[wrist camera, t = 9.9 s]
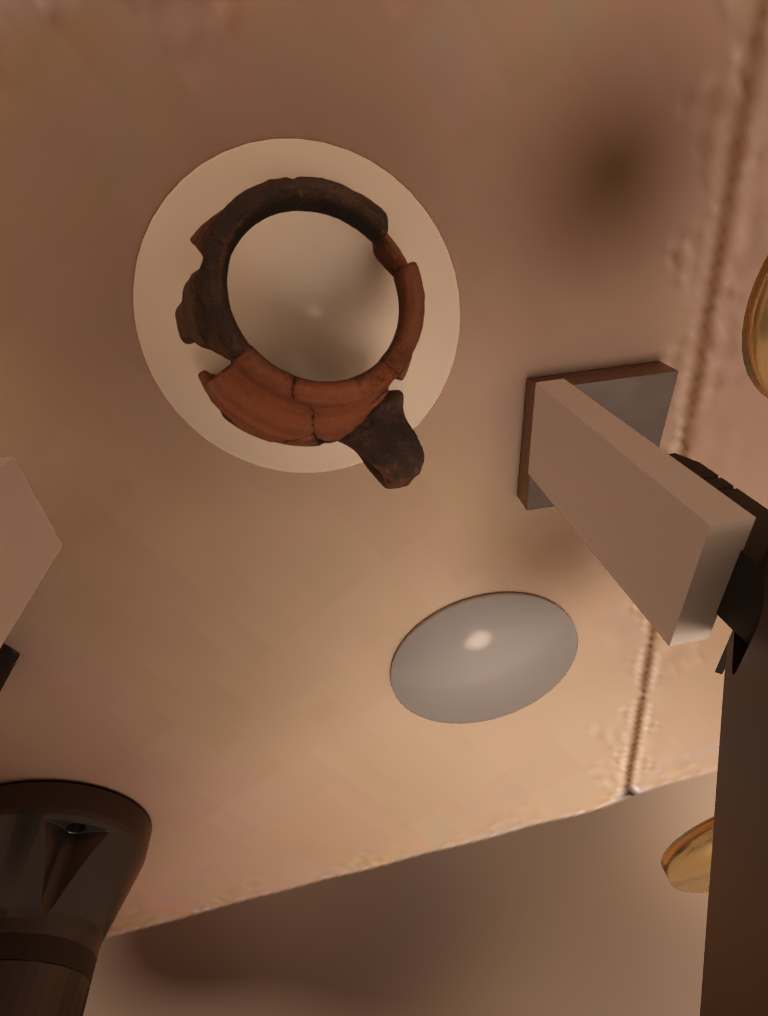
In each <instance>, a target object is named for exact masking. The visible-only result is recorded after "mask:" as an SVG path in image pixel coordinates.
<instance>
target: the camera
mask: <svg viewBox="0 0 768 1016" xmlns="http://www.w3.org/2000/svg"><path fill="white" fill-rule="evenodd" d="M19 655H20V654H19V653H18V652H17V651H16V650H14V649H12V648H10V647H8V646H7V645H5V644H3V645H2V646H1V648H0V691H1V689H2V687H3V686H4V684H5V682H6V680H7V678H8V676H9V674H10V672H11V670H12V668H13V667H14V665H15V663H16V661H17V659H18V657H19Z"/></svg>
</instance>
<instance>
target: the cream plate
mask: <svg viewBox="0 0 768 1016" xmlns="http://www.w3.org/2000/svg"><path fill="white" fill-rule="evenodd" d="M300 176H303V177H318V178H324V179H327V180H332V181H334V182H337V183H341V184H343V185H345V186H347V187H348V188H350V189H352V190H353V191H356V192H358V193H361V194H362V195H364V196H366V197H367V198H369V199H370V200H372V201H373V202H374V203H375V204H377V205H378V206H379V207H381V208H382V209H383V210H384V211H385V212H386V214H387V218H388V232H387V233H388V234H389V236H390V237H391V238H392V239H393V241H394V242H395V243H396V245H397V246H398V247H399V249H400V250H401V252H402V254H403V256H404V257H405V259H406V261H407V263H410V262H416V263H417V265H418V267H419V271H420V274H421V278H422V283H423V288H424V292H425V313H424V322H423V328H422V331H421V335H420V338H419V341H418V343H417V345H416V348H415V350H414V352H413V354H412V359H411V362H410V365H409V368H408V371H407V374H406V376H405V377H404V379H403V380H402V381H401V380H397V379H395V380H393V381H392V382H391V384H390V386H389V388H388V389H389V391H390V390H400V391H402V393H403V395H404V402H403V409H404V414H405V417H406V419H407V421H408V423H409V424H410V426H411V427H412V429H414V428H415V427H416V426H417V425H418V424H419V423H420V422H421V421H422V420H423V418H424V417H425V416H426V415H427V413H428V412H429V411H430V409H431V408H432V407H433V405H434V403H435V402H436V400H437V398H438V397H439V395H440V394H441V392H442V390H443V387H444V385H445V383H446V381H447V379H448V377H449V374H450V371H451V368H452V365H453V362H454V358H455V355H456V349H457V344H458V339H459V328H460V303H459V292H458V286H457V281H456V275H455V271H454V268H453V265H452V262H451V259H450V256H449V252H448V250H447V248H446V246H445V244H444V241H443V239H442V237H441V235H440V233H439V231H438V229H437V227H436V226H435V224H434V223H433V221H432V220H431V218H430V216H429V215H428V213H427V212H426V210H425V209H424V208H423V207H422V205H421V204H420V203H419V202H418V201H417V199H416V198H415V197H414V196H413V195H412V194H411V192H410V191H409V190H408V189H407V188H405V187H404V186H403V185H402V184H401V183H400V182H399V181H398V180H397V179H395V178H394V177H393V176H392V175H391V174H389V173H388V172H386V171H385V170H383V169H382V168H380V167H379V166H378V165H376V164H375V163H373V162H372V161H370V160H368V159H366V158H364V157H362V156H360V155H358V154H355V153H353V152H351V151H349V150H347V149H344V148H340V147H337V146H334V145H331V144H327V143H324V142H318V141H312V140H305V139H269V140H263V141H257V142H252V143H247V144H244V145H241V146H238V147H235V148H233V149H230V150H227V151H224V152H222V153H220V154H219V155H217V156H215V157H213V158H211V159H210V160H208V161H206V162H204V163H202V164H201V165H200V166H198V167H197V168H196V169H195V170H193V171H192V172H191V173H190V174H188V175H187V176H186V177H185V178H183V179H182V180H181V181H180V182H179V183H178V185H177V186H176V187H175V188H174V189H173V190H172V191H171V192H170V193H169V195H168V196H167V197H166V198H165V200H164V201H163V203H162V204H161V206H160V207H159V209H158V210H157V212H156V213H155V215H154V216H153V218H152V220H151V222H150V225H149V227H148V229H147V231H146V234H145V236H144V238H143V240H142V244H141V248H140V251H139V255H138V258H137V262H136V269H135V277H134V285H133V307H134V316H135V323H136V330H137V335H138V338H139V342H140V345H141V349H142V352H143V355H144V358H145V360H146V363H147V365H148V367H149V370H150V372H151V374H152V376H153V378H154V380H155V381H156V383H157V385H158V387H159V388H160V390H161V392H162V394H163V395H164V396H165V398H166V399H167V400H168V402H169V403H170V404H171V406H172V407H173V408H174V410H175V411H176V412H177V413H178V414H179V415H180V416H181V417H182V418H183V419H184V420H185V422H186V423H187V424H188V425H189V426H190V427H192V428H193V429H194V430H195V431H196V432H198V433H199V434H200V435H201V436H202V437H203V438H205V439H206V440H208V441H209V442H211V443H212V444H214V445H215V446H217V447H218V448H220V449H221V450H223V451H225V452H227V453H229V454H231V455H233V456H235V457H237V458H238V459H241V460H244V461H246V462H249V463H252V464H254V465H257V466H261V467H265V468H269V469H273V470H278V471H285V472H293V473H317V472H328V471H333V470H338V469H343V468H347V467H350V466H353V465H356V464H360V463H362V462H363V461H362V460H361V458H360V457H359V455H358V454H357V453H356V452H355V451H354V450H353V449H351V448H350V447H348V446H346V445H344V444H343V443H340V442H338V441H336V442H333V443H324V444H321V446H313V447H305V446H291V445H285V444H280V443H276V442H268V441H265V440H262V439H259V438H257V437H255V436H252V435H250V434H248V433H246V432H244V431H242V430H240V429H239V428H237V427H235V426H234V425H233V424H231V423H230V422H228V421H227V420H226V419H225V418H224V417H223V416H222V414H221V412H220V410H219V409H218V408H217V407H216V406H215V405H214V404H213V403H212V402H211V400H210V398H209V396H208V395H207V393H206V392H205V390H204V388H203V386H202V384H201V382H200V380H199V377H198V374H199V373H200V372H201V371H203V370H206V371H208V372H209V373H210V374H215V375H218V374H219V373H220V372H221V371H222V370H223V369H225V368H226V367H227V366H229V365H230V364H231V361H230V360H228V359H226V358H224V357H223V356H221V355H219V354H217V353H215V352H213V351H212V350H208V349H205V348H202V347H200V346H199V345H197V344H196V343H192V344H185V343H184V342H183V341H182V340H181V338H180V335H179V332H178V328H177V323H176V318H175V311H176V309H177V307H178V306H179V304H180V303H181V302H182V293H183V288H184V285H185V283H186V282H187V281H188V280H189V278H190V276H191V274H192V273H194V272H195V271H197V270H198V269H199V268H200V266H201V263H202V260H203V256H202V255H201V253H200V251H199V250H198V249H197V248H196V246H195V245H193V244H192V243H191V241H190V238H191V237H192V236H193V234H194V233H195V232H196V231H197V230H198V229H199V227H200V226H201V225H202V224H204V223H205V222H206V221H208V220H209V219H210V218H211V217H213V216H214V215H215V214H217V213H218V212H220V211H221V210H222V209H224V208H225V207H226V206H227V204H228V203H230V202H231V201H232V200H233V199H234V198H235V197H236V196H237V195H239V194H240V193H242V192H243V191H245V190H246V189H249V188H251V187H253V186H255V185H258V184H261V183H263V182H265V181H267V180H268V179H279V178H283V177H288V178H291V179H294V178H296V177H300ZM227 288H228V297H229V302H230V307H231V311H232V313H233V316H234V318H235V321H236V323H237V325H238V327H239V329H240V330H241V332H242V334H243V335H244V337H245V339H246V340H247V342H248V343H249V344H250V345H252V346H253V347H254V348H255V349H256V350H257V351H258V352H259V353H260V354H261V355H262V356H263V357H264V358H265V359H266V360H268V361H269V362H270V363H272V364H273V365H275V366H277V367H278V368H280V369H282V370H284V371H286V372H288V373H290V374H292V375H294V376H297V377H301V378H304V379H308V380H313V381H339V380H345V379H349V378H352V377H354V376H356V375H359V374H361V373H363V372H365V371H367V370H368V369H370V368H371V367H373V366H374V365H375V364H376V363H378V361H379V360H380V358H381V357H382V356H383V354H384V353H385V352H386V351H387V349H388V348H389V346H390V344H391V342H392V340H393V337H394V335H395V331H396V328H397V323H398V316H399V304H398V295H397V290H396V286H395V283H394V277H393V276H392V275H391V274H390V273H389V272H388V271H387V270H386V269H385V268H384V267H383V265H382V264H381V263H380V262H379V261H378V260H377V258H376V257H375V255H374V253H373V245H372V242H371V241H370V240H368V239H367V238H366V237H365V236H364V235H363V234H361V233H360V232H359V231H358V230H356V229H355V228H353V227H351V226H350V225H348V224H346V223H345V222H343V221H341V220H339V219H337V218H333V217H331V216H328V215H325V214H321V213H315V212H304V211H290V212H284V213H279V214H276V215H273V216H270V217H268V218H266V219H264V220H262V221H261V222H259V223H257V224H256V225H255V226H253V227H252V228H251V229H250V230H249V231H248V232H247V233H246V234H245V235H244V236H243V237H242V238H241V240H240V241H239V243H238V244H237V246H236V247H235V249H234V251H233V253H232V255H231V258H230V263H229V268H228V276H227Z"/></svg>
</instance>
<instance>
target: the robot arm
mask: <svg viewBox="0 0 768 1016" xmlns="http://www.w3.org/2000/svg"><path fill="white" fill-rule="evenodd" d="M528 474H529V475H530V476H531V478H532V479H533V480H534V481H535V482H536V484H537V485H538V486H539V487H540V489H541V490H542V491H543V492H544V493H545V495H546V496H547V497H548V498H549V500H550V501H551V502H552V503H553V504H554V506H555V507H556V508H557V509H558V511H559V512H560V513H561V514H562V516H563V517H564V518H565V519H566V520H567V522H568V523H569V524H570V525H571V527H572V528H573V529H574V530H575V531H576V533H577V534H578V535H579V536H580V538H581V539H582V540H583V541H584V542H585V544H586V545H587V546H588V547H589V549H590V550H591V551H592V552H593V553H594V555H595V556H596V557H597V558H598V560H599V561H600V562H601V563H602V564H603V566H604V567H605V568H606V569H607V571H608V572H609V573H610V574H611V575H612V577H613V578H614V579H615V580H616V582H617V583H618V584H619V585H620V587H621V588H622V589H623V590H624V591H625V593H626V594H627V595H628V596H629V598H630V599H631V600H632V601H633V602H634V604H635V605H636V606H637V607H638V609H639V610H640V611H641V612H642V613H643V615H644V616H645V617H646V618H647V620H648V621H649V622H650V623H651V624H652V626H653V627H654V628H655V629H656V631H657V632H658V633H659V634H660V635H661V637H662V638H663V639H664V640H665V642H666V643H667V644H668V645H669V646H674V645H679V644H684V643H690V642H695V641H700V640H705V639H708V638H709V635H710V633H711V630H712V628H713V625H714V623H715V620H716V618H717V615H718V616H719V617H720V618H721V619H722V620H723V621H724V622H725V623H726V624H727V625H728V626H729V627H730V628H731V629H732V630H733V631H732V633H731V636H730V638H729V640H728V643H727V645H726V647H725V650H724V652H723V654H722V657H721V659H720V661H719V664H718V666H717V668H716V671H715V672H717V673H720V674H722V673H723V671H724V669H725V676H724V690H723V704H722V718H721V732H720V745H719V759H718V773H717V787H716V801H715V814H714V828H713V842H712V856H711V870H710V883H709V898H708V911H707V912H708V913H707V925H706V940H705V952H704V968H703V980H702V994H701V1008H700V1016H768V509H766V508H765V507H763V506H762V505H760V504H759V503H758V502H756V501H755V500H753V499H752V498H750V497H749V496H747V495H746V494H745V493H743V492H742V491H740V490H739V489H734V488H733V485H731V484H730V483H729V482H727V481H726V480H724V479H723V478H718V475H717V474H715V473H714V472H713V471H711V470H710V469H708V468H707V467H705V466H704V465H702V464H701V463H699V462H697V461H694V460H691V459H689V458H686V457H684V456H681V455H678V454H676V453H673V454H667V453H666V452H665V451H663V450H662V449H660V448H659V447H658V446H656V445H655V444H654V443H652V442H651V441H649V440H648V439H647V438H645V437H644V436H642V435H641V434H640V433H638V432H637V431H636V430H634V429H633V428H631V427H630V426H629V425H627V424H626V423H624V422H623V421H622V420H620V419H619V418H618V417H616V416H615V415H613V414H612V413H611V412H609V411H608V410H606V409H605V408H604V407H602V406H601V405H600V404H598V403H597V402H595V401H594V400H593V399H591V398H590V397H588V396H587V395H586V394H584V393H583V392H582V391H580V390H579V389H577V388H576V387H575V386H573V385H572V384H570V383H569V382H568V381H566V380H565V379H557V380H550V381H543V382H536V386H535V398H534V410H533V421H532V433H531V445H530V456H529V468H528ZM62 547H63V545H62V543H61V541H60V539H59V538H58V536H57V534H56V532H55V530H54V529H53V527H52V525H51V523H50V521H49V520H48V518H47V516H46V514H45V512H44V510H43V509H42V507H41V505H40V503H39V501H38V500H37V498H36V496H35V494H34V492H33V491H32V489H31V487H30V485H29V483H28V481H27V480H26V478H25V476H24V474H23V472H22V471H21V469H20V467H19V465H18V463H17V462H16V460H15V458H14V456H8V457H1V458H0V648H1V646H2V645H3V643H4V641H5V640H6V638H7V636H8V635H9V633H10V632H11V630H12V628H13V627H14V625H15V623H16V622H17V620H18V619H19V617H20V615H21V614H22V612H23V610H24V609H25V607H26V606H27V604H28V602H29V601H30V599H31V597H32V596H33V594H34V592H35V591H36V589H37V588H38V586H39V584H40V583H41V581H42V579H43V578H44V576H45V575H46V573H47V571H48V570H49V568H50V566H51V565H52V563H53V562H54V560H55V558H56V557H57V555H58V553H59V552H60V550H61V548H62ZM151 831H152V827H151V822H150V820H149V818H148V816H147V815H146V813H145V812H144V811H143V810H142V809H141V808H140V807H138V806H137V805H136V804H134V803H133V802H131V801H130V800H128V799H126V798H124V797H122V796H120V795H117V794H115V793H112V792H109V791H106V790H103V789H99V788H95V787H91V786H86V785H80V784H73V783H63V782H26V783H16V784H9V785H4V786H0V1016H83V1013H84V1010H85V1006H86V1002H87V998H88V993H89V989H90V985H91V981H92V977H93V973H94V969H95V965H96V961H97V957H98V954H99V950H100V948H101V945H102V943H103V941H104V939H105V937H106V935H107V933H108V931H109V929H110V927H111V925H112V924H113V922H114V920H115V918H116V916H117V914H118V912H119V910H120V908H121V906H122V904H123V903H124V901H125V899H126V897H127V895H128V893H129V891H130V889H131V887H132V885H133V883H134V881H135V880H136V878H137V876H138V874H139V872H140V870H141V868H142V866H143V864H144V861H145V858H146V854H147V850H148V845H149V841H150V836H151Z"/></svg>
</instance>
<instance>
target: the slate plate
mask: <svg viewBox="0 0 768 1016" xmlns="http://www.w3.org/2000/svg"><path fill="white" fill-rule="evenodd" d="M577 647H578V636H577V631H576V628H575V626H574V624H573V622H572V620H571V619H570V617H569V616H568V614H567V613H566V612H565V611H564V610H563V609H562V608H560V607H559V606H558V605H557V604H555V603H553V602H551V601H549V600H548V599H545V598H542V597H539V596H536V595H531V594H526V593H516V592H500V593H491V594H485V595H480V596H475V597H471V598H468V599H465V600H462V601H459V602H456V603H454V604H452V605H449V606H447V607H445V608H443V609H441V610H439V611H437V612H435V613H434V614H432V615H431V616H429V617H428V618H426V619H425V620H423V621H422V622H421V623H420V624H419V625H417V626H416V627H415V628H414V629H413V630H412V631H411V632H410V633H409V634H408V635H407V636H406V637H405V639H404V640H403V641H402V643H401V644H400V646H399V647H398V649H397V651H396V653H395V655H394V658H393V660H392V664H391V670H390V679H391V684H392V688H393V691H394V693H395V695H396V697H397V699H398V700H399V701H400V703H401V704H402V705H403V706H404V707H405V708H406V709H408V710H409V711H411V712H412V713H414V714H416V715H418V716H420V717H423V718H426V719H429V720H432V721H437V722H443V723H456V724H463V723H475V722H482V721H487V720H491V719H495V718H499V717H502V716H505V715H508V714H511V713H513V712H516V711H518V710H520V709H522V708H524V707H526V706H528V705H530V704H532V703H533V702H535V701H537V700H538V699H540V698H541V697H543V696H544V695H545V694H547V693H548V692H549V691H550V690H552V689H553V688H554V687H555V686H556V685H557V684H558V683H559V682H560V681H561V679H562V678H563V677H564V676H565V675H566V673H567V672H568V670H569V669H570V667H571V665H572V663H573V661H574V659H575V656H576V652H577Z"/></svg>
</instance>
